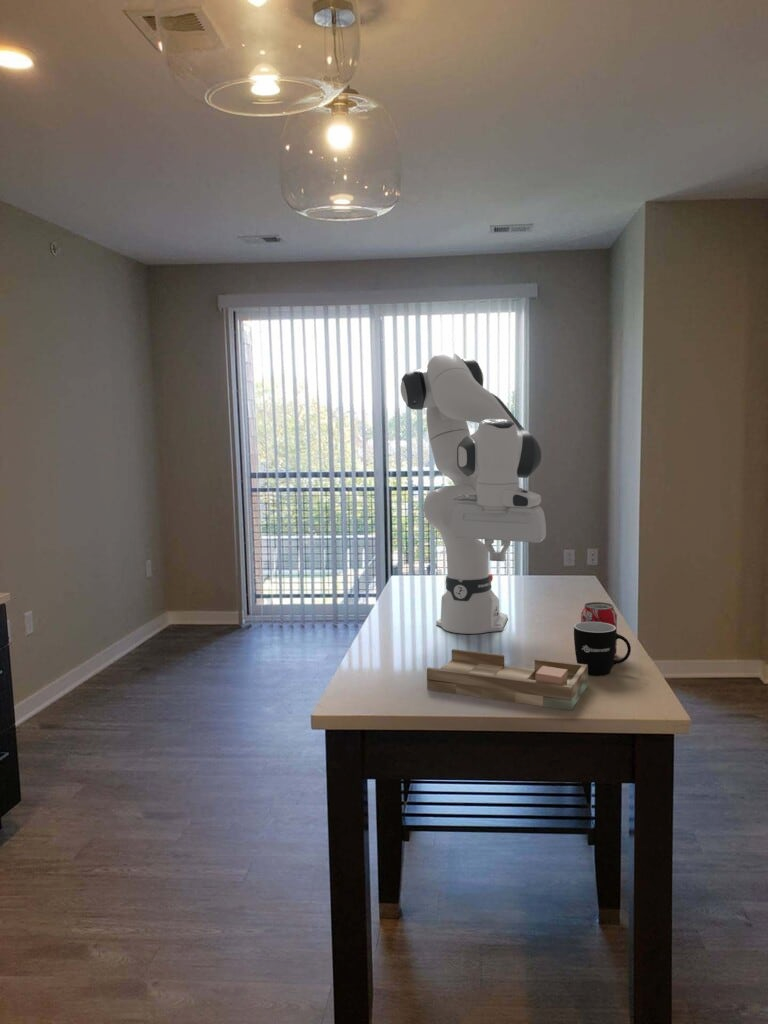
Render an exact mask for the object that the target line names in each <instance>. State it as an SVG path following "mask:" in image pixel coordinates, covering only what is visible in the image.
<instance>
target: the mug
mask: <svg viewBox="0 0 768 1024" xmlns="http://www.w3.org/2000/svg"><path fill="white" fill-rule="evenodd" d="M618 639H619V640H622V641H623V642H624V643H625V644H626V647H627V650H626V651H627V652H626V654H625V655H624V656H623V657H622V658H619V659H615V655H616V654H615V647H616V640H617V641H618ZM573 640H574V641H573V642H574V651H575V652H574V653H575V659H576V663H578V664H586V665H588V676H590V677H604V676H607V675H609V674H610V673H611V671H612V669H613V667H614V666H615V665H619V664H622V663H624V662H626V660H628V659H629V657H630V656H631V652H632V651H631V650H632V648H631V647H632V646H631V644H630V641H629V640H628V638H626V637H625V636H623V635H621V634H619V633H616V627H615V626H614V625H611V624H608V623H603V622H581V621H580V622H578V623H575V624H574V626H573Z"/></svg>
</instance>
